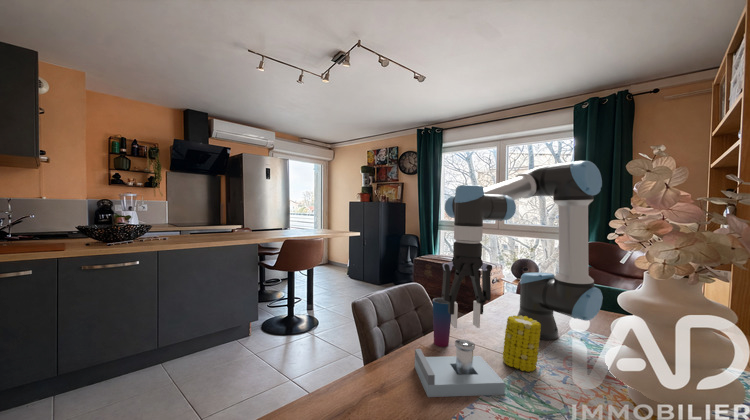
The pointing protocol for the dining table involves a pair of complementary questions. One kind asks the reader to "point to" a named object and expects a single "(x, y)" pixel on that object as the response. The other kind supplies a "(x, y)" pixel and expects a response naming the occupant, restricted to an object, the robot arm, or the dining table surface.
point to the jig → (456, 377)
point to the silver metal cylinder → (464, 356)
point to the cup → (441, 322)
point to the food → (521, 343)
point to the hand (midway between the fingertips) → (465, 325)
